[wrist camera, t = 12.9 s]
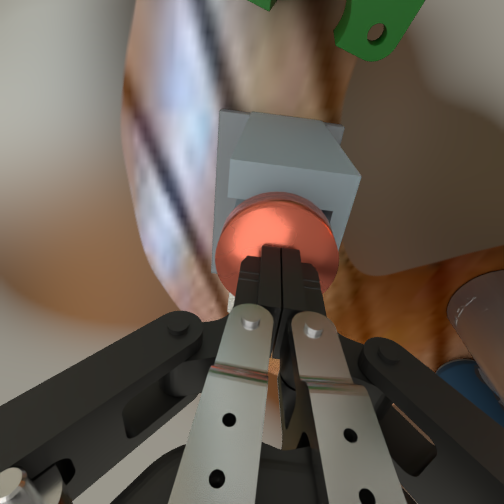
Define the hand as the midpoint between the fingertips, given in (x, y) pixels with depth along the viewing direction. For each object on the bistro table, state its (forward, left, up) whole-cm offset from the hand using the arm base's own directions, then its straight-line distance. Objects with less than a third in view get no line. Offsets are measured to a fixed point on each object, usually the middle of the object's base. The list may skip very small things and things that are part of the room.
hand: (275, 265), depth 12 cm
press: (0, +5, -17) cm, 18 cm away
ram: (0, 0, -14) cm, 14 cm away
